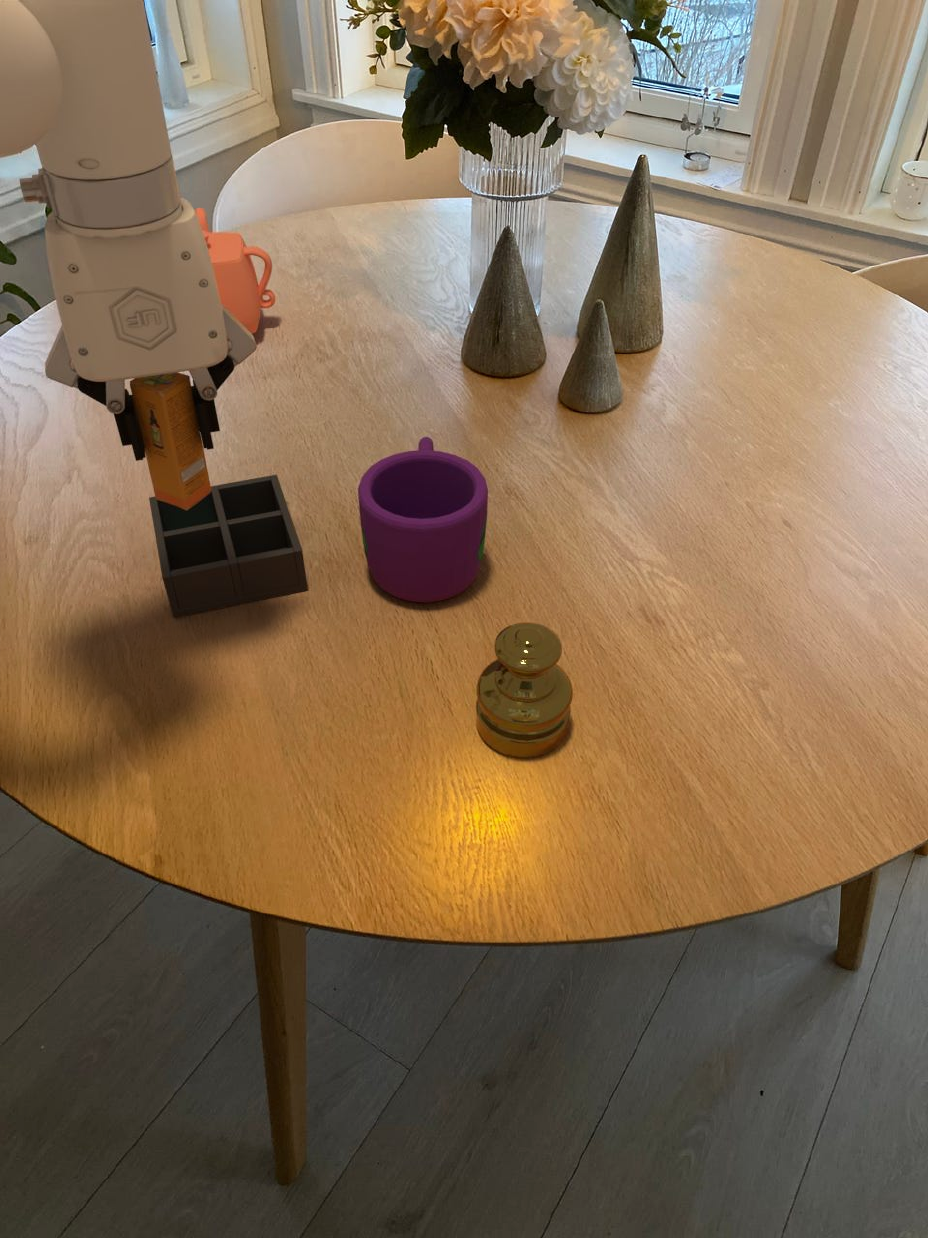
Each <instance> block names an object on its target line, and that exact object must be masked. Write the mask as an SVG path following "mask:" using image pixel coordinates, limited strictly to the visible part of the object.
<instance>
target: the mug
mask: <svg viewBox="0 0 928 1238" xmlns="http://www.w3.org/2000/svg"><path fill="white" fill-rule="evenodd" d="M357 496H358V497H357V498H358V507H359V509H358V510H359V520H360V529H361V536H362V543H363V551H364V555H365V559H366V560H365V561H366V563H367V566H368V569H369V572H370V574H371V575H372V578H373V580H374V581H375V583H376V584H377V585H378V586H379V587H380V588H381V589H382V590H383V591H384V592H386V593H387V594H389V595H392V596H393V597H394V598H398V599H401V600H404V601H408V602H414V603H416V602H417V603H432V602H439V601H443V600H447V599H450V598H453V597H454V596H457V595H459V594H461V593H463V591H465V590H466V589H467V588H468V587H470V586H471V585H472V583H473V581H475V578H476V577H477V575H478V573H479V571H480V568H481V564H482V560H483V554H484V548H485V542H486V534H487V533H486V531H487V523H488V521H487V520H488V506H489V505H488V503H489V488H488V484H487V480H486V478H485V476H484V475H483V473H482V472H481V471H480V469H479V468H478V467H477V465H474V464H473V463H472V462H470V461H469V460H468V459H465V458H463V457H461V456H459V455H456V454H452V453H450V452H449V453H448V452H445V451H440V450H435V447H434V442H433V439H432V438H431V437H428V436H423V437H421V438H420V440H419V442H418V448H417V450H416V449H415V450H407V451H403V452H399V453H398V452H397V453H394V454H392V455H389V456H386V457H384V458H382V459H380V460H377V462H375V463H373V464H372V465H370V466H369V468H368V469H367V470H366V471H365V472H364V474H363V475H362V476H361V479H360V482H359V484H358V487H357Z"/></svg>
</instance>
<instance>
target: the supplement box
mask: <svg viewBox="0 0 928 1238" xmlns="http://www.w3.org/2000/svg"><path fill="white" fill-rule="evenodd" d="M190 376H191V375H189V374H185V373H182V372H176V373H169V374H162V375H155V376H148V377H140V378H133V379H130V381H129V387H130V391H131V395H132V396H133V401H134V405H135V409H136V413H137V418H138V422H139V427H140V431H141V436H142V440H143V444H144V448H145V456H146V462H147V467H148V471H149V475H150V480H151V483H152V488H153V495H154V497H156V499H157V500H160V501H164V502H167V503H169V504H172V505H175V506H178V507H180V508H182V509H184V510H188V509H190V508H191V507H192V506H194V505H195V504H196V503H198V502H199V501H200V500H202V499H203V498H204V497H205V496H207V495H208V494H209V493H210V492H211V486H212V485H211V481H210V476H209V471H208V466H207V461H206V454H205V448H204V447H203V442H202V438H201V433H200V428H199V423H198V418H197V413H196V409H195V404H194V399H193V393H192V388H191V386H192V383H191V378H190Z"/></svg>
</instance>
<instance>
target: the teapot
mask: <svg viewBox="0 0 928 1238" xmlns="http://www.w3.org/2000/svg"><path fill="white" fill-rule="evenodd" d="M194 211H195V213H196V215H197V218H198V220H199V223H200V226H201V228H202V232H203V235H204V238H205V241H206V244H207V247H208V251H209V254H210V258H211V262H212V266H213V270H214V275H215V279H216V283H217V288H218V292H219V297H220V301H221V304H222V305H223V306H224V307H225V308H226V309H227V310H228V311H229V312H230V313H231V314H232V315H233V316H234V317H235V318H236V319H237V320H238V321H239V322H240V323H241V324H242V325H243V326H244V327H245V328H246V329H247V330H248V331H249V332H250V333H251V334H252V335H253V334H254V333H256V332H257V331H258V327H259V323H260V319H261V311H262V309H270V308H272V307H273V306H274V305H275V303H276V295H275V293H274V292H273V290H271V289H267V286H268V284H269V281H270V279H271V277H272V272H273V261H272V259H271V257H270V255H269V253H267V251H265V250H264V249H262V248H261V247H259V246H255V245H247V244H246V242H245V240H244V237H243V236H242V234H240V233H238V232H227V231H225V232H224V231H223V232H222V231H221V232H211V231H210V228H209V224H208V220H207V212H206V210H205V209H204V208H203V207H197V208H196V209H194ZM252 256H254V257H257V258H260V259H261V260H262V261H263V262H264V270H263V273H262V276H261V279H260V281H258V276H257V274H256V269H255V266H254V262H253V259H252ZM264 296H268V297H269V298H268V299H264ZM228 342H229V340H228V339H227V343H228Z"/></svg>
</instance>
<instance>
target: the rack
mask: <svg viewBox="0 0 928 1238" xmlns="http://www.w3.org/2000/svg"><path fill="white" fill-rule="evenodd" d="M210 486H211V492H210V493H209V494H208V495H207V496H205V497H204V498H203V499H202V500H200V501H199V502H198V503H196V504H195V505H194V506H192V507H191V508H190V509H188V510H184V509H182V508H180V507H178V506H175V505H172V504H169V503H167V502H164V501H160V500H157V499H156V497H155V496H150V497H148V500H149V506H150V512H151V519H152V525H153V530H154V535H155V536H154V537H155V543H156V548H157V553H158V560H159V566H160V571H161V572H160V573H161V577H162V578H161V579H162V581H163V586H164V588H165V592H166V596H167V600H168V603H169V607H170V611H171V614H172V618H173V619H177V618H182V617H187V616H190V615H195V614H200V613H206V612H209V611H210V612H211V611H215V610H220V609H225V608H229V607H233V606H238V605H243V604H247V603H248V604H249V603H254V602H259V601H263V600H268V599H272V598H277V597H282V596H286V595H291V594H296V593H301V592H305V591H308V582H307V575H306V567H305V561H304V554H303V547H302V545H301V542H300V539H299V537H298V533H297V530H296V527H295V525H294V522H293V519H292V516H291V513H290V510H289V507H288V504H287V501H286V498H285V495H284V492H283V489H282V485H281V483H280V479H279V478H278V475H277V474H271V475H267V476H261V477H256V478H255V477H254V478H249V479H244V480H239V481H238V480H237V481H232V482H226V483H221V484H216V485H210Z"/></svg>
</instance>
